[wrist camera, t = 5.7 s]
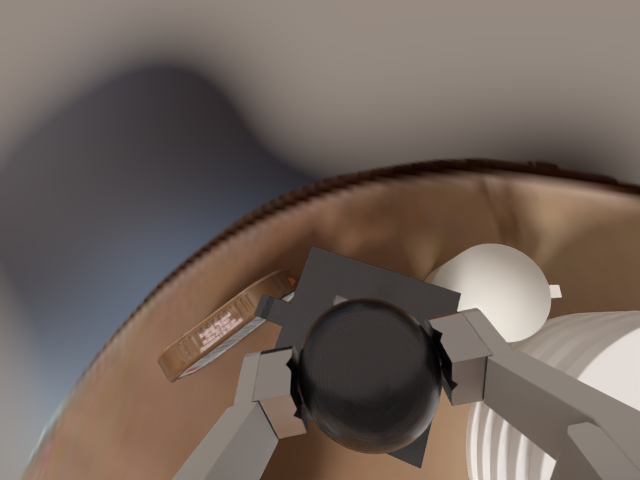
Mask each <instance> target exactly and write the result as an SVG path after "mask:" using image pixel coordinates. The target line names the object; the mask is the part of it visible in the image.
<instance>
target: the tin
mask: <svg viewBox="0 0 640 480" xmlns="http://www.w3.org/2000/svg"><path fill="white" fill-rule="evenodd" d="M297 285H298V284H297V283H296V281H295V280H294V279H293V277H292V276H291V275H290V273H289V270H288V269H280V270H277V271H274V272H272V273H270V274H268V275H266V276H265V277H263V278H261V279H259V280H258V281H256V282H254V283H253V284H251V285H250V286H248V287H247V288H246V289H244V290H243V291H241V292H240V293H239V294H237V295H236V296H235V297H233V298H232V299H231V300H229V301H228V302H227V303H225V304H224V305H222V306H221V307H220V308H218V309H217V310H216V311H214V312H213V313H212V314H210V315H209V316H208V317H206V318H205V319H204V320H202V321H201V322H200V323H198V324H197V325H196V326H194V327H193V328H191V329H190V330H189V331H187V332H186V333H185V334H183V335H182V336H181V337H179V338H178V339H177V340H175V341H174V342H173V343H171V344H170V345H169V346H168V347H167V348H165V349H164V350H163V351H162V352H161V353H160V355H159V356H158V357H157V359H156V362H157V363H158V364H159V365H160V366H161V368H162V370H163V372H164V373H165V375H166V377H167V378H168V380H169V381H170V382H171V383H173V382H175V381H176V380H178V379H180V378H182V377H184V376H187V375H191V374H193V373H195V372H197V371H198V370H200V369H201V368H203V367H205V366H206V365H208V364H209V363H211V362H212V361H214V360H215V359H216V358H218V357H219V356H221V355H222V354H223V353H225V352H226V351H227V350H229V349H230V348H231V347H233V346H234V345H235V344H237V343H238V342H239V341H241V340H242V339H244V338H245V337H246V336H248V335H249V334H250V333H252V332H253V331H254V330H256V329H257V328H258V327H260V326H261V325H262V324H263V323H265V322H266V321H267V320H265V319H262V318H260V317H257V316H255V315H254V313H255V311H256V308H257V306H258V303H259V301H260V298H261V295H262V294H265V295H269V296H272V297H275V298H278V299H282V300H285V301H288V302H291V301H292V299H293V296H294V294H295V291H296V288H297Z"/></svg>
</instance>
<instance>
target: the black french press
mask: <svg viewBox="0 0 640 480" xmlns="http://www.w3.org/2000/svg"><path fill="white" fill-rule="evenodd" d="M336 296H339V297H342V298H345V299H348V300H350V299H356V298H374V299H380V300H384V301H387V302H390V303H392V304H395V305H397V306H398V307H400V308H402V309H404V310H405V311H406V312H408V313H409V314H410V315H412V316H413V317H414V318H415V319H416V320H417V321H418V322H419V323H420V324H421V326H422V327H423V328H424V329H425V319H426V318H429V317H434V316H439V315H443V314H448V313H453V312H457V309H458V305H459V301H460V296H461V293H459V292H456V291H452V290H449V289H446V288H443V287H440V286H437V285H434V284H430V283H427V282H424V281H421V280H418V279H415V278H411V277H408V276H405V275H402V274H399V273H396V272H392V271H389V270H386V269H383V268H380V267H377V266H374V265H370V264H367V263H364V262H361V261H358V260H355V259H351V258H348V257H345V256H342V255H339V254H336V253H332V252H329V251H326V250H323V249H320V248H317V247H314V246H312V247H311V250H310V252H309V255H308V258H307V261H306V263H305V266H304V269H303V272H302V274H301V277H300V280H299V283H298V285H297V288H296V291H295V294H294V296H293V299H292V302H291V303H290V302H288V301H285V300H282V299H278V298H275V297H272V296H269V295H265V294H262V295H261V298H260V301H259V303H258V306H257V308H256V311H255V313H254V315H255V316H257V317H260V318H262V319H265V320H268V321H270V322H273V323H276V324H278V325H281V326H282V329H281V332H280V335H279V337H278V340H277V343H276V346H275V348H274V349H276V348H282V347H288V346H295V348H296V350H297V353H298V360H299V353H300V350H301V346H302V343H303V341H304V338H305V336H306V334H307V332H308V330H309V329H310V327H311V326H312V324H313V323H314V322H315V321H316V320H317V318H318V317H319V316H320V315H321V314H323V313H324V312H325V311H326V310H328V309H329V308H331V307H333V304H334V301H335V298H336ZM425 331H426V332H427V330H426V329H425ZM427 334H428V332H427ZM306 409H307V408H306ZM307 419H310V420H312V421H314V420H313V419H312V417H311V416H310V414H309V412H308V410H307ZM431 422H432V421H431ZM431 422H430V424H429V425H428V427H427V428H426V429H425V431H424V432H423V433H422V434H421V435H420V436H419V437H418V438H417V439H415V440H414V441H413V442H412V443H410V444H408V445H407V446H405V447H403V448H401V449H398V450H396V451H393V452H389V453H387V454H389V455H391V456H393V457H396V458H398V459H400V460H402V461H405V462H407V463H409V464H411V465H414V466H416V467H418V468H421V466H422V461H423V457H424V453H425V448H426V444H427V439H428V435H429V431H430V426H431Z"/></svg>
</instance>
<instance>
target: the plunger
mask: <svg viewBox="0 0 640 480" xmlns="http://www.w3.org/2000/svg"><path fill="white" fill-rule="evenodd" d="M298 380H299V387H300V392H301V395H302V398H303V401H304V404H305V406H306V408H307V410H308V412H309V414H310V416H311V417H312V419H313V420H314V422H315V423H316V424H317V425H318V427H319V428H320V429H321V430H322V431H323V432H324V433H325V434H326V435H327V436H328V437H330V438H331V439H332V440H334V441H335V442H337V443H338V444H340V445H342V446H344V447H346V448H348V449H351V450H354V451H356V452H361V453H366V454H383V453H389V452H393V451H396V450H398V449H401V448H403V447H405V446H407V445H408V444H410V443H412V442H413V441H414V440H415V439H417V438H418V437H419V436H420V435H421V434H422V433H423V432H424V431H425V429H426V428H427V427H428V425H429V424H430V422H431V421H432V419H433V417H434V415H435V412H436V410H437V407H438V404H439V401H440V396H441V389H442V374H441V366H440V362H439V357H438V355H437V352H436V349H435V347H434V345H433V343H432V341H431V339H430V337H429V335H428V334H427V332H426V331H425V329H424V328H423V327H422V326H421V324H420V323H419V322H418V321H417V320H416V319H415V318H414V317H413V316H412V315H410V314H409V313H408V312H406V311H405V310H404V309H402V308H400V307H398V306H397V305H395V304H392V303H390V302H387V301H384V300H380V299H374V298H356V299H350V300H348V299H345V298H342V297H339V296H336V298H335V301H334V304H333V307H331V308H329V309H328V310H326V311H325V312H324V313H323V314H321V315H320V316H319V317H318V318H317V320H316V321H315V322H314V323H313V324H312V326H311V327H310V329H309V330H308V332H307V334H306V336H305V338H304V341H303V343H302V346H301V350H300V353H299V360H298Z"/></svg>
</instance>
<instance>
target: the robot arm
mask: <svg viewBox="0 0 640 480" xmlns="http://www.w3.org/2000/svg"><path fill="white" fill-rule="evenodd" d="M425 329H426V330H427V332H428V335H429V337H430V339H431V341H432V343H433V345H434V347H435V349H436V352H437V355H438V357H439V362H440V366H441V374H442V386H443V388H444V390H445V392H446V394H447V396H448V399H449V401H450V403H451V405H452V406H454V405H461V404H467V403H473V402H480V401H484V402H483V403H484V404H486V405H487V406H488V407H489V408H491V409H492V410H493V411H494V412H496V413H497V414H498V415H499V416H501V417H502V418H503V419H504V420H506V421H507V422H508V423H509V424H511V425H512V426H513V427H514V428H516V429H517V430H518V431H519V432H521V433H522V434H523V435H524V436H525V437H527V438H528V439H529V440H530V441H532V442H533V443H534V444H535V445H537V446H538V447H539V448H540V449H542V450H543V451H544V452H545V453H547V454H548V455H549V456H550V457H552V458H553V459H554V460H555V461H556V463H555V466H554V469H553V472H552V475H551V477H550V480H640V411H639V410H637V409H635V408H633V407H631V406H629V405H627V404H625V403H623V402H621V401H619V400H617V399H615V398H613V397H611V396H609V395H607V394H605V393H603V392H601V391H599V390H597V389H595V388H593V387H591V386H589V385H587V384H585V383H583V382H581V381H579V380H577V379H575V378H573V377H571V376H569V375H567V374H565V373H563V372H561V371H559V370H557V369H555V368H553V367H551V366H549V365H547V364H545V363H543V362H541V361H539V360H537V359H536V358H534V357H532V356H530V355H528V354H526V353H524V352H522V351H515V352H514V351H513V349H512V348H511V347H510V346H509V344H508V343H507V342H506V341H505V340H504V338H503V337H502V336H501V335H500V333H499V332H498V331H497V330H496V329H495V327H494V326H493V325H492V324H491V322H490V321H489V320H488V319H487V318H486V316H485V315H484V314H483V313H482V311H481V310H480V309H478V308H472V309H467V310H463V311H459V312H458V311H457V312H453V313H448V314H443V315H439V316H434V317H429V318H426V319H425ZM304 433H307V409H306V406H305V404H304V401H303V398H302V395H301V392H300V387H299V380H298V353H297V350H296V348H295V346H288V347H282V348H276V349H271V350H265V351H261V352H255V353H250V354H246V355H245V357H244V359H243V363H242V367H241V372H240V376H239V381H238V386H237V390H236V395H235V400H234V404H233V406H231V407H228V408H227V409H226V411H225V412H224V413H223V414H222V416H221V417H220V418H219V420H218V421H217V422H216V423H215V425H214V426H213V427H212V429H211V430H210V431H209V432H208V434H207V435H206V436H205V437H204V439H203V440H202V441H201V443H200V444H199V445H198V446H197V448H196V449H195V450H194V452H193V453H192V454H191V455H190V457H189V458H188V459H187V461H186V462H185V463H184V464H183V466H182V467H181V468H180V470H179V471H178V472H177V473H176V475H175V476H174V477H173V479H172V480H260V478H261V476H262V474H263V472H264V470H265V468H266V466H267V464H268V462H269V460H270V458H271V456H272V453H273V451H274V449H275V447H276V445H277V443H278V439H281V438H286V437H290V436H295V435H299V434H304Z"/></svg>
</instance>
